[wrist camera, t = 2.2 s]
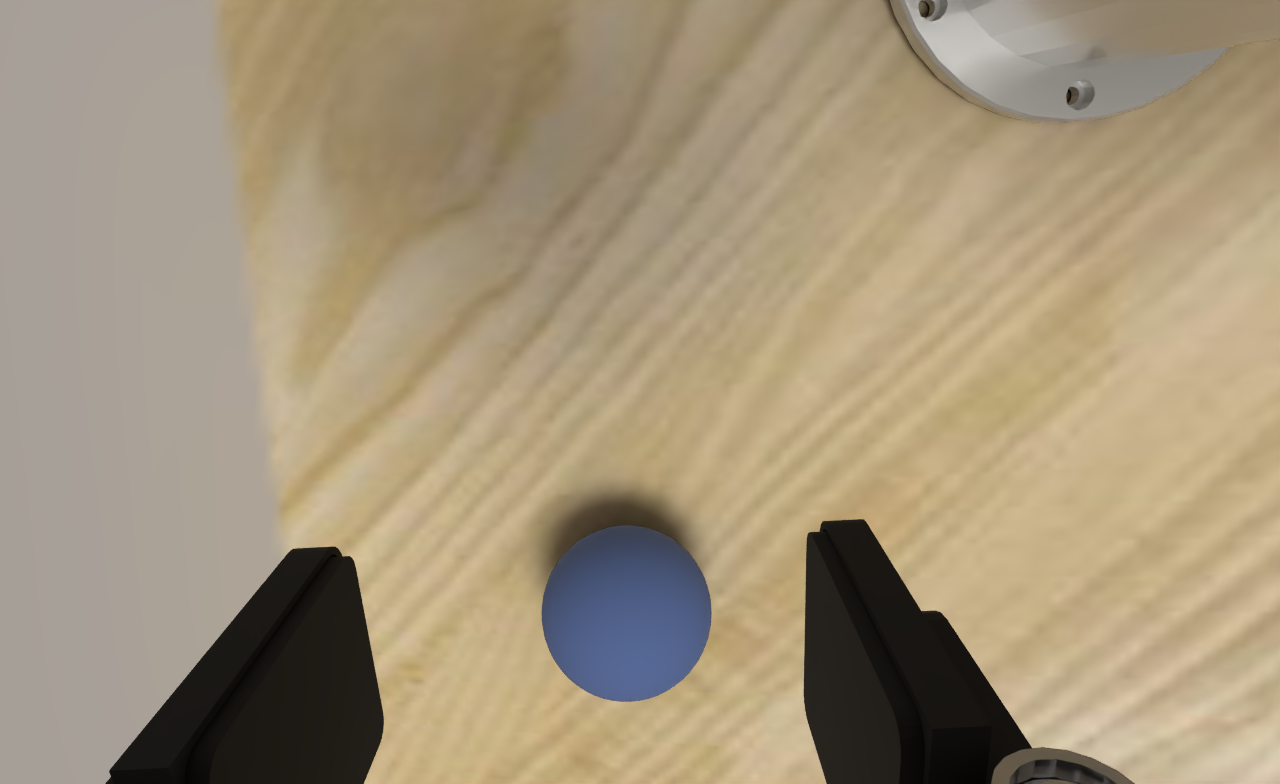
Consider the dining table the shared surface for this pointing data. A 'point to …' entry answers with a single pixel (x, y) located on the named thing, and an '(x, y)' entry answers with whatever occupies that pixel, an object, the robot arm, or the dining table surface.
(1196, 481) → the dining table surface
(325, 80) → the dining table surface
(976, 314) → the dining table surface
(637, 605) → the ball
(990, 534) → the dining table surface
